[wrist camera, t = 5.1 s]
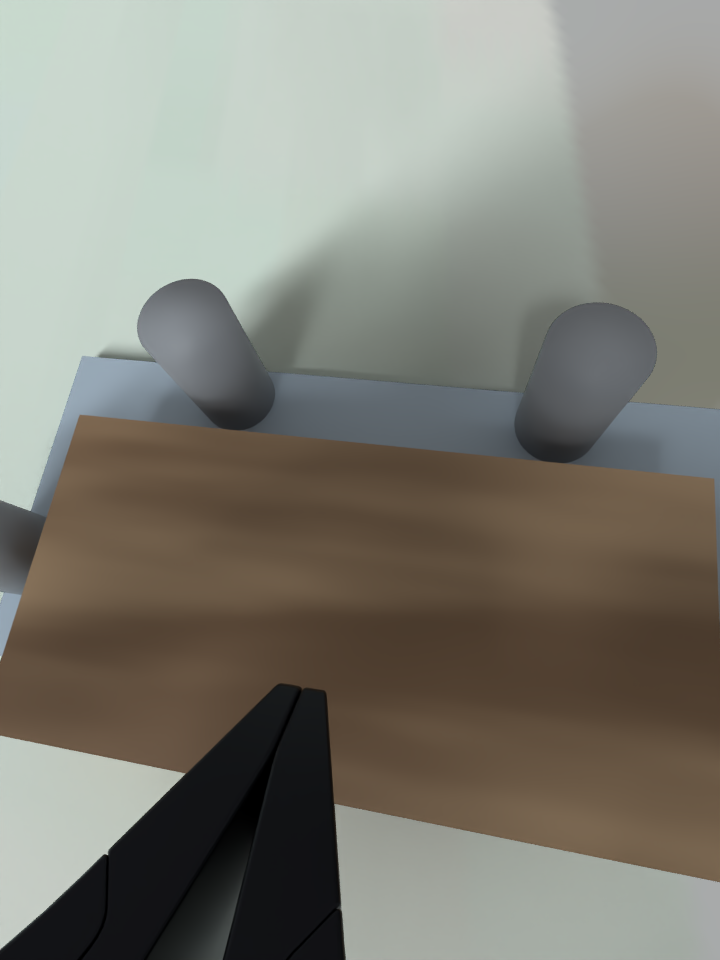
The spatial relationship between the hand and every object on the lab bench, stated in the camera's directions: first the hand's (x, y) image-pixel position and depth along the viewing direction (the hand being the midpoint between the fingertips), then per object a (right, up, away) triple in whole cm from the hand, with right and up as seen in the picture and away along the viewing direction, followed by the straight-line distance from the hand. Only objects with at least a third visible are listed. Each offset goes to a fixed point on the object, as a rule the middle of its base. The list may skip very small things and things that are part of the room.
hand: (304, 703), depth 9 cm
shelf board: (0, -3, +4) cm, 5 cm away
